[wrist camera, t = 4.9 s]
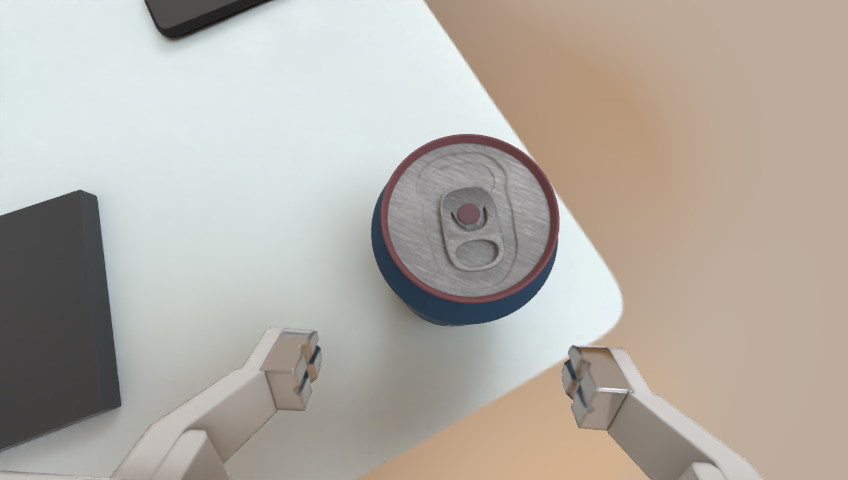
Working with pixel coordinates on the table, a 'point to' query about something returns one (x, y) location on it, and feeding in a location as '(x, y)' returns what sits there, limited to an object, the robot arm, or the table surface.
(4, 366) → the scale
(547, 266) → the soda can
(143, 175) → the table surface
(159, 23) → the smartphone
